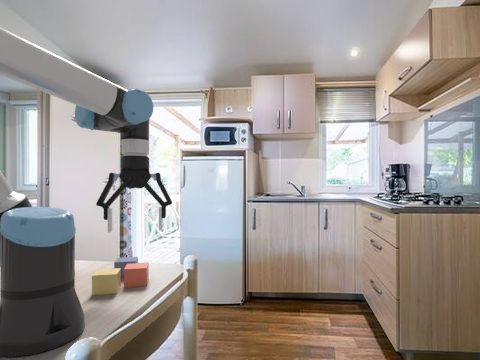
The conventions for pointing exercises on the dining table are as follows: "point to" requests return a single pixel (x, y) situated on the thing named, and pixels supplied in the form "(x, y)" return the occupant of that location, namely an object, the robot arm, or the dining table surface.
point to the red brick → (136, 274)
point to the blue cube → (124, 263)
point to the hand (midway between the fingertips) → (135, 230)
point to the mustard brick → (106, 281)
